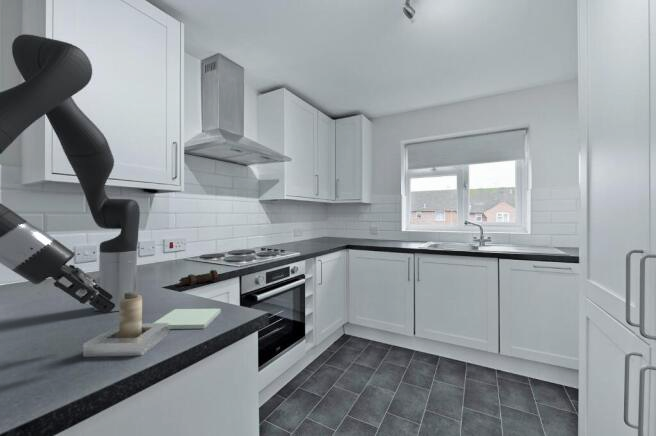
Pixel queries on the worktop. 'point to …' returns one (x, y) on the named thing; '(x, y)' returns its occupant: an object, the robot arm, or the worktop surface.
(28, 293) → the worktop surface
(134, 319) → the key peg
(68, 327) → the worktop surface
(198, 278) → the bolt
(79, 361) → the worktop surface
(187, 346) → the worktop surface
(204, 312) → the set down board
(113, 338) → the grey square frame
